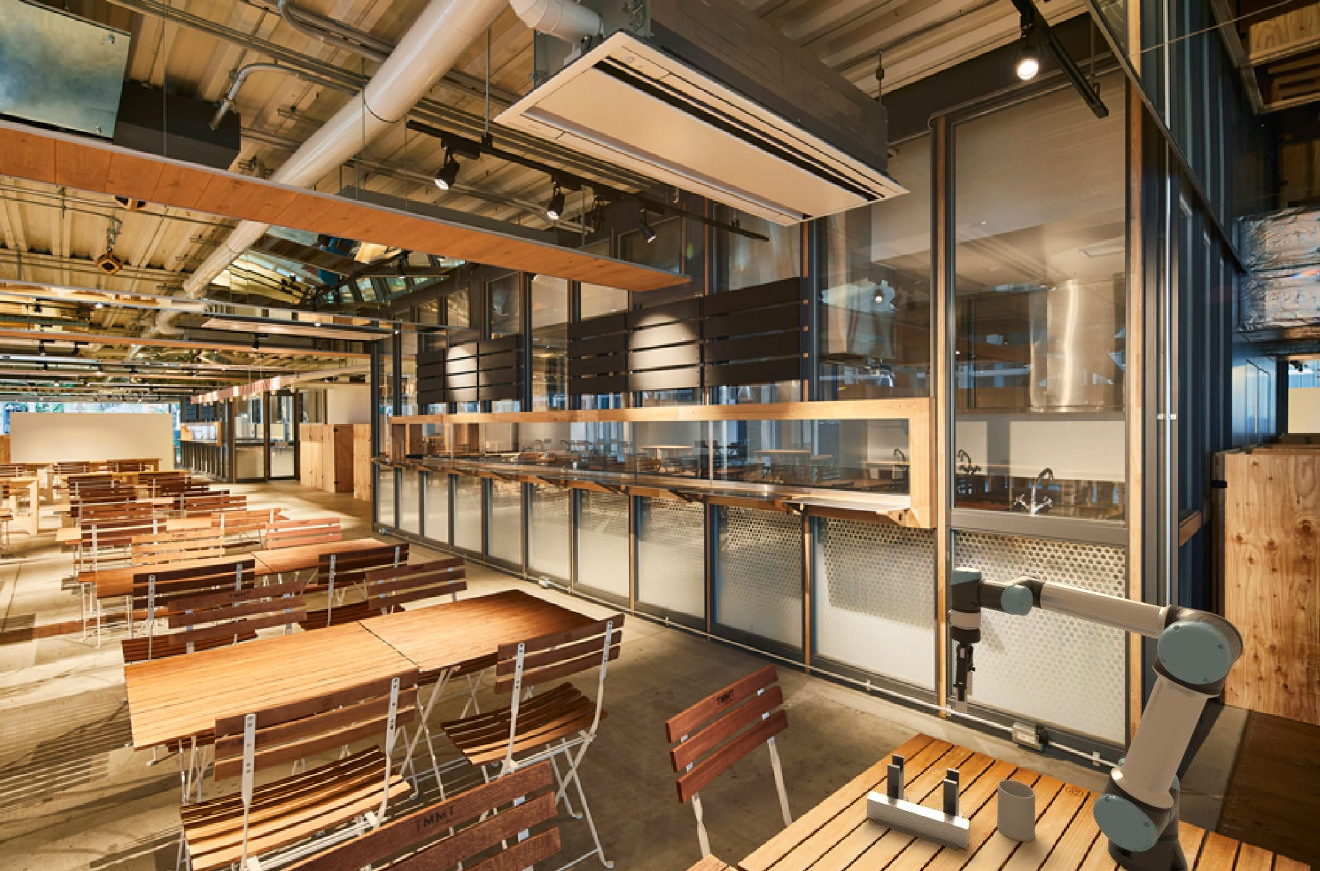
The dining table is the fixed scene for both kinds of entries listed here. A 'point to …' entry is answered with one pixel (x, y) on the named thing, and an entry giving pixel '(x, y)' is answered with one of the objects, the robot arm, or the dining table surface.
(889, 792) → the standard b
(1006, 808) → the grey oval cup
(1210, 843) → the dining table surface
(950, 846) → the plank
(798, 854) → the dining table surface
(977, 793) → the dining table surface
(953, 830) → the rail
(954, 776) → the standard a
